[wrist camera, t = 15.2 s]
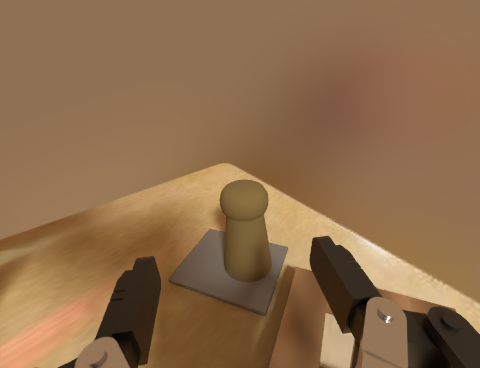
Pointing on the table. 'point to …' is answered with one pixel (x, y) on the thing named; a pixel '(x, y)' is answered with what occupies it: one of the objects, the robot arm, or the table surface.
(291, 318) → the socket block
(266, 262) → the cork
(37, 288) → the table surface
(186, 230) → the table surface
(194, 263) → the rubber mat
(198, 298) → the table surface
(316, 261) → the robot arm
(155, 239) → the table surface
